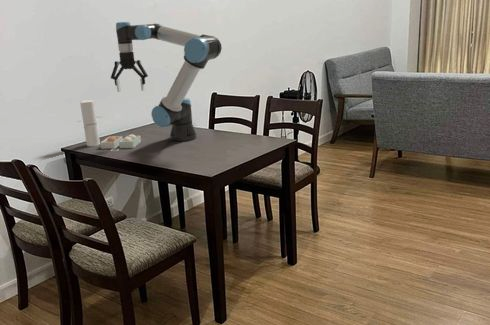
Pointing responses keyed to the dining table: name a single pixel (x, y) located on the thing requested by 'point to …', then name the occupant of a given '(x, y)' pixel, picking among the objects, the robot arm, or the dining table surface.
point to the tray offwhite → (111, 143)
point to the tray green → (130, 143)
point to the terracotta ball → (111, 139)
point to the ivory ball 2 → (132, 137)
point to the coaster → (114, 150)
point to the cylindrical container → (90, 123)
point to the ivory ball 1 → (127, 139)
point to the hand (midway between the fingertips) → (131, 91)
